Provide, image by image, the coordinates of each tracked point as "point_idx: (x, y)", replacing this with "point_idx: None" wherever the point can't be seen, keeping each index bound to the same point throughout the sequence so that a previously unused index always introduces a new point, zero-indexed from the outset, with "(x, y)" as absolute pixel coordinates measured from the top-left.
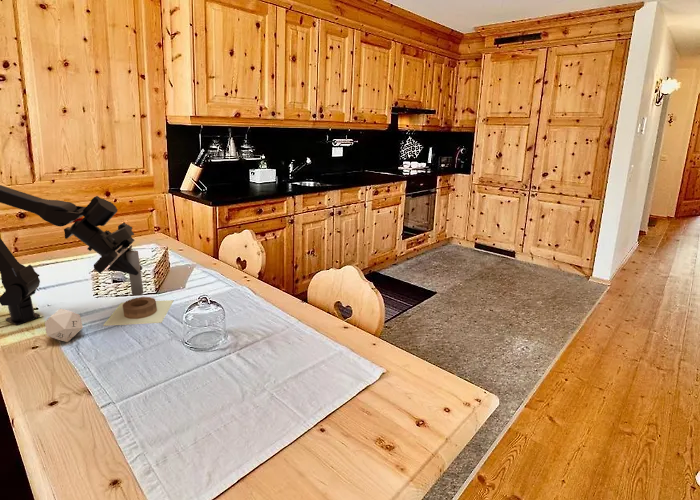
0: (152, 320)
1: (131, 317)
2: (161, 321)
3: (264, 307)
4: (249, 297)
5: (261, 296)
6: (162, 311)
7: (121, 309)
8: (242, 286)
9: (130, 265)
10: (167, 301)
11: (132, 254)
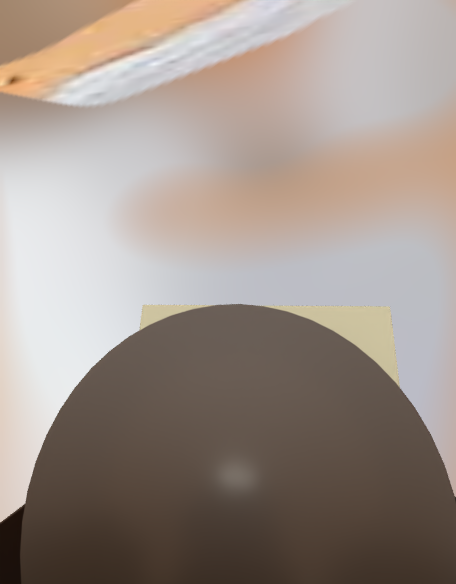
0: (366, 352)
1: None
2: (377, 309)
3: (266, 14)
4: (173, 59)
5: (173, 31)
6: None
7: None
8: (64, 90)
9: None
10: None
11: (418, 438)
